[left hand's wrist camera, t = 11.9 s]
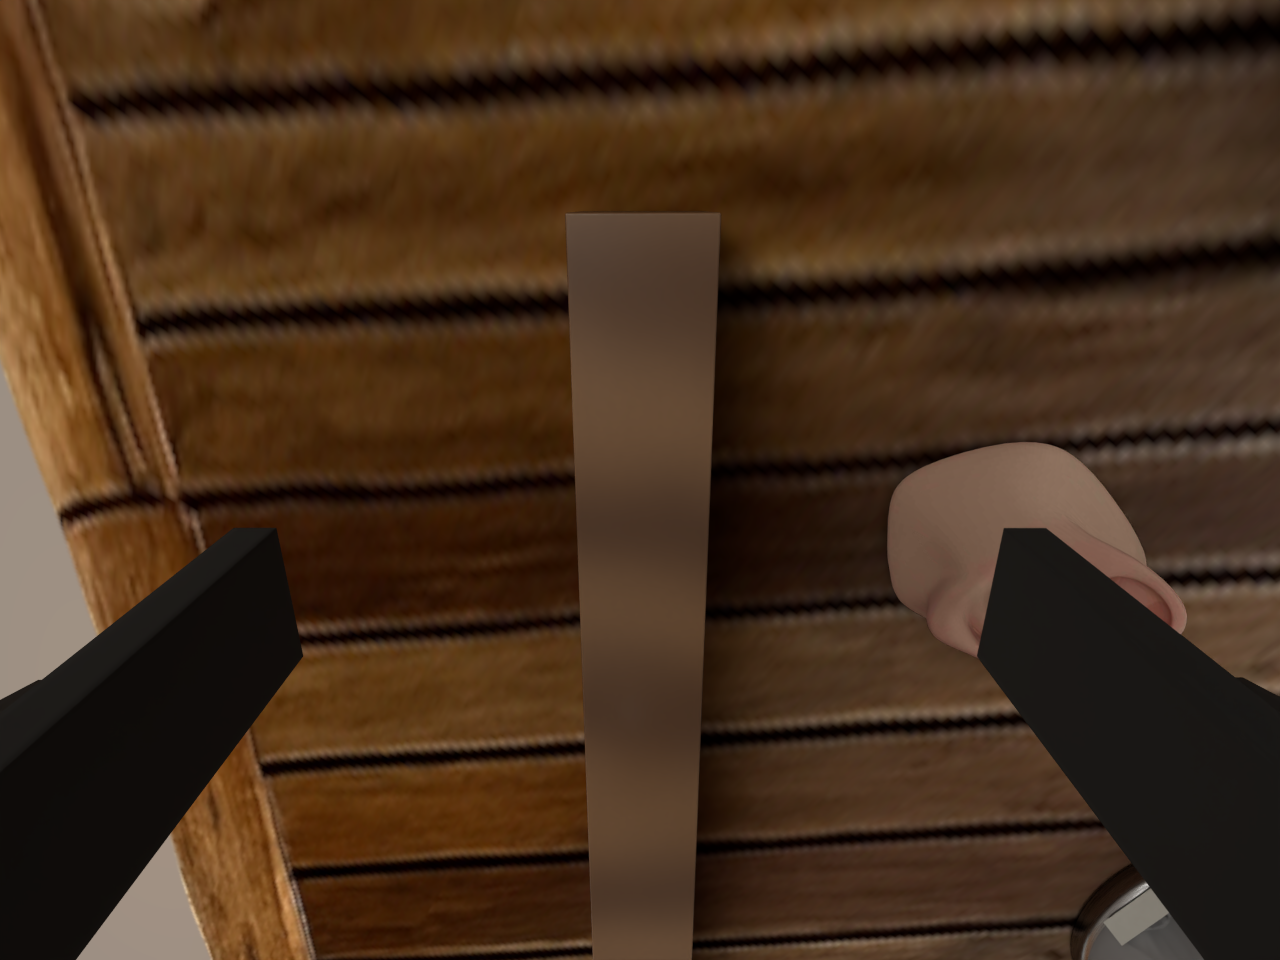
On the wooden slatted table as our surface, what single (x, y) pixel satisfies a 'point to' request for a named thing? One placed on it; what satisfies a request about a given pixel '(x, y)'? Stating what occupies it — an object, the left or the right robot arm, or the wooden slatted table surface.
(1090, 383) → the wooden slatted table surface
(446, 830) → the wooden slatted table surface
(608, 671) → the bar
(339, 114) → the wooden slatted table surface
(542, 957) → the wooden slatted table surface
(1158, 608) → the anatomical model
